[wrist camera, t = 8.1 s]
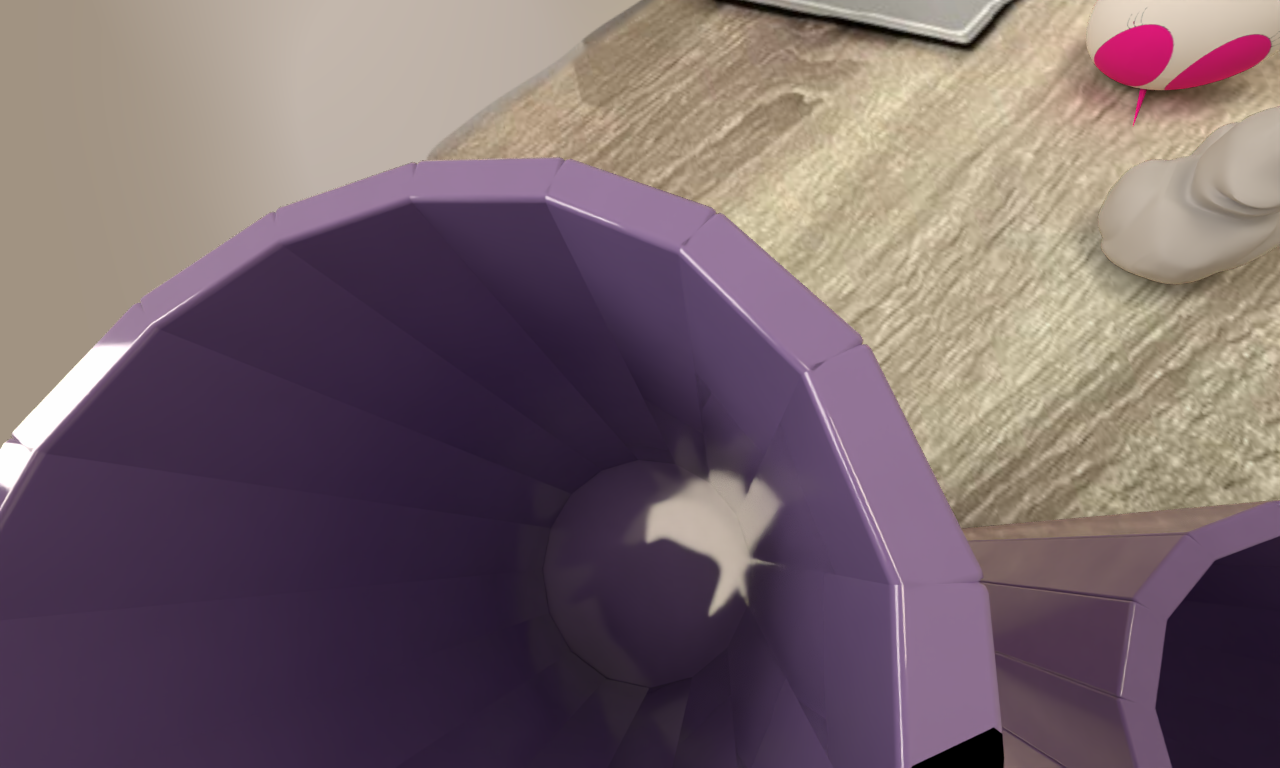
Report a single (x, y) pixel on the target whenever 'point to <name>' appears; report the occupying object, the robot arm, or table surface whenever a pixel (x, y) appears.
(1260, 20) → the stress ball
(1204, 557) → the tumbler
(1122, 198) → the rubber duck
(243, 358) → the tumbler
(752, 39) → the table surface
